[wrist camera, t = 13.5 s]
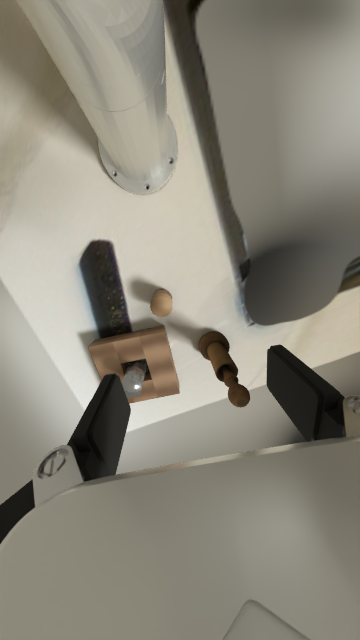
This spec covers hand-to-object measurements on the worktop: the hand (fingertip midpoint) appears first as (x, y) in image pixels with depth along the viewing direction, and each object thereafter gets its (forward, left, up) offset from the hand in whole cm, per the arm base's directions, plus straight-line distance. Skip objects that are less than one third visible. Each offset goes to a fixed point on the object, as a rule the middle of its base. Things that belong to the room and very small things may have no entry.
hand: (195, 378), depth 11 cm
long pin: (+14, -12, -28) cm, 33 cm away
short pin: (0, -3, -27) cm, 28 cm away
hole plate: (+14, -12, -28) cm, 33 cm away
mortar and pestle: (+13, +6, -28) cm, 31 cm away
